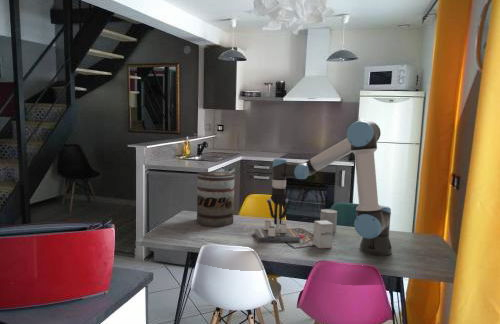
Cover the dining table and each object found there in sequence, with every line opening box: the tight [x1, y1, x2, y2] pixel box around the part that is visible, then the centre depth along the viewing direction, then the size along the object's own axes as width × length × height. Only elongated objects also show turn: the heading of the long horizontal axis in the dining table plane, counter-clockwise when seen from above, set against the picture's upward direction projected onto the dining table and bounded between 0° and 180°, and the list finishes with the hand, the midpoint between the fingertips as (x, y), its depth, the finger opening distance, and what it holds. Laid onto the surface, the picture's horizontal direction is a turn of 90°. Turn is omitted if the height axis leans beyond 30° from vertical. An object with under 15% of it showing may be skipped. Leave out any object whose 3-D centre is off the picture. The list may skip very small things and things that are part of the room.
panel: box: [254, 228, 301, 243], centre depth 199 cm, size 15×22×3 cm
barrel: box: [196, 171, 236, 228], centre depth 225 cm, size 22×22×30 cm
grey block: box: [319, 208, 338, 235], centre depth 213 cm, size 10×10×12 cm
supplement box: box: [312, 220, 333, 249], centre depth 187 cm, size 7×7×13 cm
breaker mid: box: [279, 222, 288, 233], centre depth 199 cm, size 3×3×5 cm
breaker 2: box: [268, 225, 276, 236], centre depth 192 cm, size 3×3×5 cm
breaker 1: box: [263, 220, 272, 230], centre depth 203 cm, size 3×3×5 cm
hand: (277, 230), depth 198 cm, fingers closed
